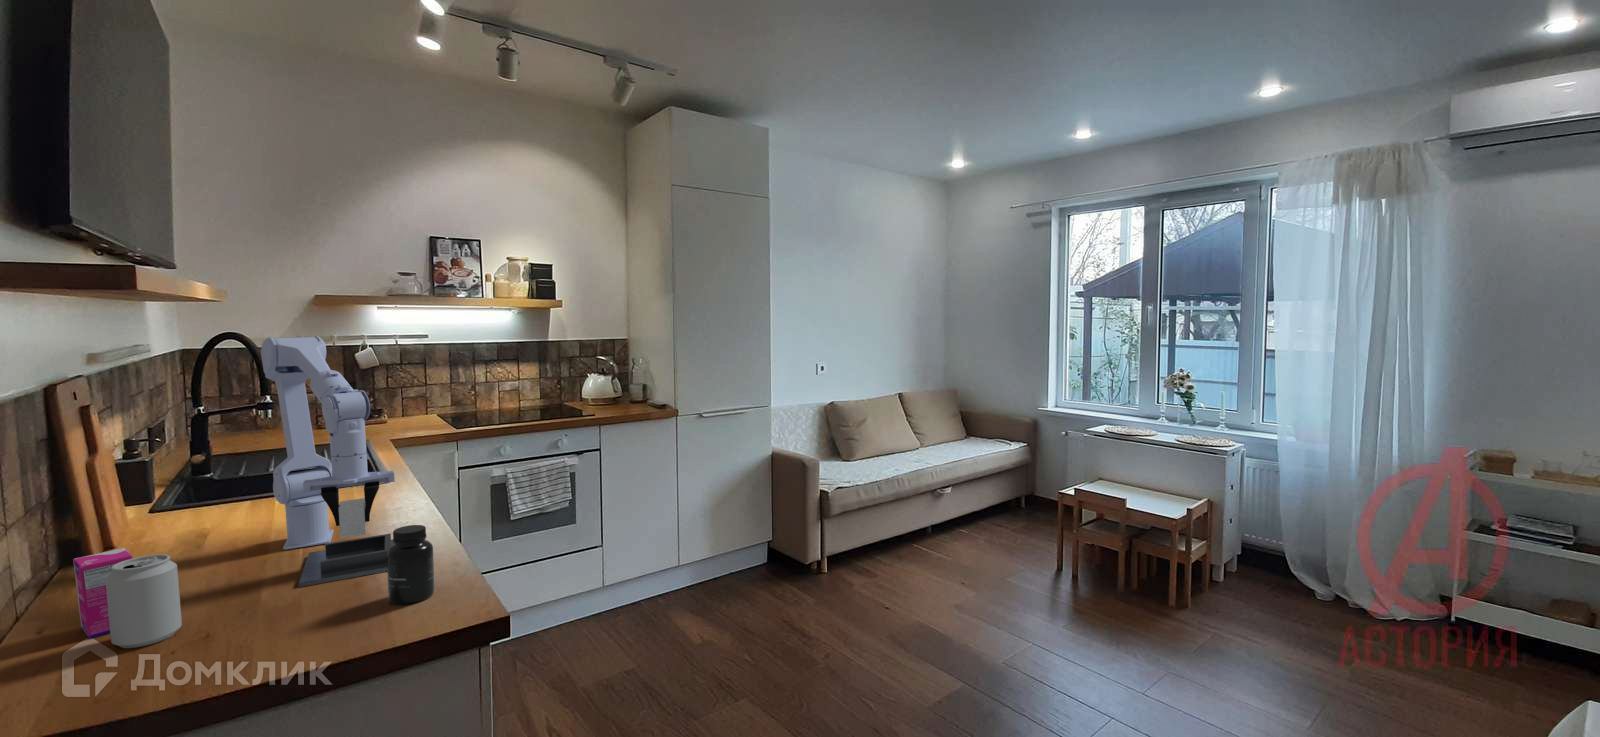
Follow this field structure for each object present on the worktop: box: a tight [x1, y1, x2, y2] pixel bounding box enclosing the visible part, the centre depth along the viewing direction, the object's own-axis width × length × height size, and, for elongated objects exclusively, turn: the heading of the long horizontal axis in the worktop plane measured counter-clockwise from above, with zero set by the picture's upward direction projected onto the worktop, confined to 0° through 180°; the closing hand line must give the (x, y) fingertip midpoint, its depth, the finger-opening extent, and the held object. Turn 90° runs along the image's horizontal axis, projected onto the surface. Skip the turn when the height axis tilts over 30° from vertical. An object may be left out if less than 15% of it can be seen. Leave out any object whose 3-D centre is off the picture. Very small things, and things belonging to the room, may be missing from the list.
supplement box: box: [72, 547, 134, 639], centre depth 100 cm, size 6×6×12 cm
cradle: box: [298, 533, 395, 588], centre depth 127 cm, size 18×16×3 cm
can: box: [105, 553, 183, 649], centre depth 97 cm, size 8×8×12 cm
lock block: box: [339, 497, 367, 539], centre depth 127 cm, size 5×4×6 cm
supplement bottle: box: [386, 524, 435, 606], centre depth 111 cm, size 7×7×12 cm
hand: (353, 522), depth 127 cm, fingers closed on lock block, 4 cm apart
